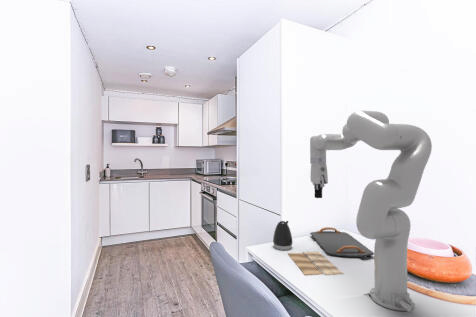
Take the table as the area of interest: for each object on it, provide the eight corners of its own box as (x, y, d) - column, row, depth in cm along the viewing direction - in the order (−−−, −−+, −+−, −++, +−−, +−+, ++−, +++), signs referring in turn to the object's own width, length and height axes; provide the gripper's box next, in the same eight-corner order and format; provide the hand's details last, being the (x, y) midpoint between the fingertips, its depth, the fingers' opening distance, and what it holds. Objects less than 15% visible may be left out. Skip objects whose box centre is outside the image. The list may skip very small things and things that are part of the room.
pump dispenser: (296, 249, 129) (296, 220, 129) (285, 254, 122) (285, 224, 121) (280, 244, 136) (279, 217, 136) (269, 249, 129) (269, 221, 128)
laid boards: (344, 276, 99) (344, 273, 99) (325, 278, 98) (325, 275, 98) (318, 253, 123) (318, 251, 123) (302, 254, 122) (302, 252, 122)
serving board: (378, 262, 113) (378, 248, 113) (329, 261, 114) (328, 248, 114) (344, 235, 152) (344, 225, 152) (308, 235, 153) (307, 225, 153)
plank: (323, 276, 99) (323, 274, 99) (304, 277, 98) (304, 274, 98) (303, 255, 121) (303, 252, 121) (287, 255, 120) (287, 253, 120)
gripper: (332, 161, 112) (333, 200, 112) (318, 160, 127) (318, 195, 127) (317, 161, 112) (317, 200, 112) (305, 160, 126) (305, 195, 126)
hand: (318, 197), depth 119 cm, fingers closed
